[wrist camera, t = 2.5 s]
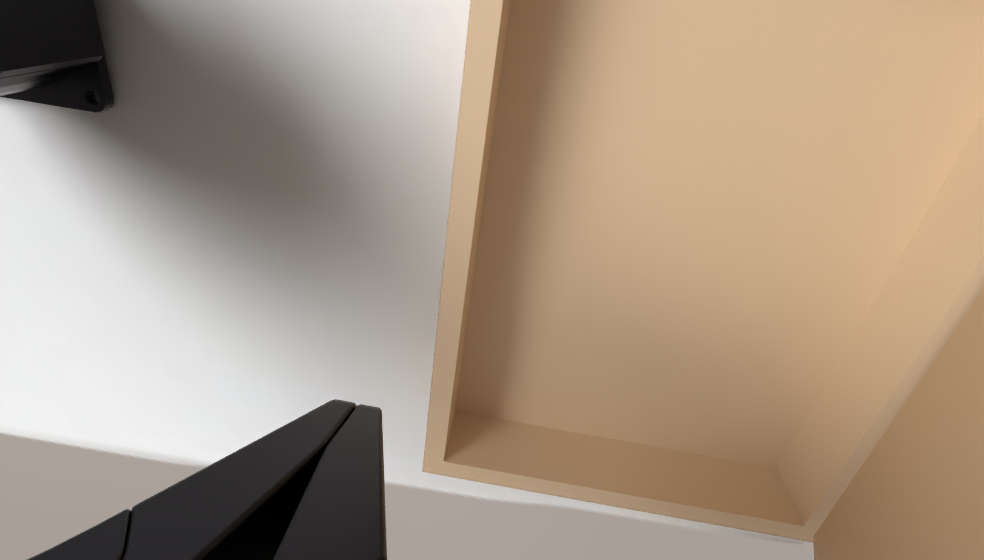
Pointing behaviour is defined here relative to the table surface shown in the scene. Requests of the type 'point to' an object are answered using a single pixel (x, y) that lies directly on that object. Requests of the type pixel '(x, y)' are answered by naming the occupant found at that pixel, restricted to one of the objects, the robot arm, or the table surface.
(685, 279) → the carton
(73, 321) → the table surface
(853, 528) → the carton flap
